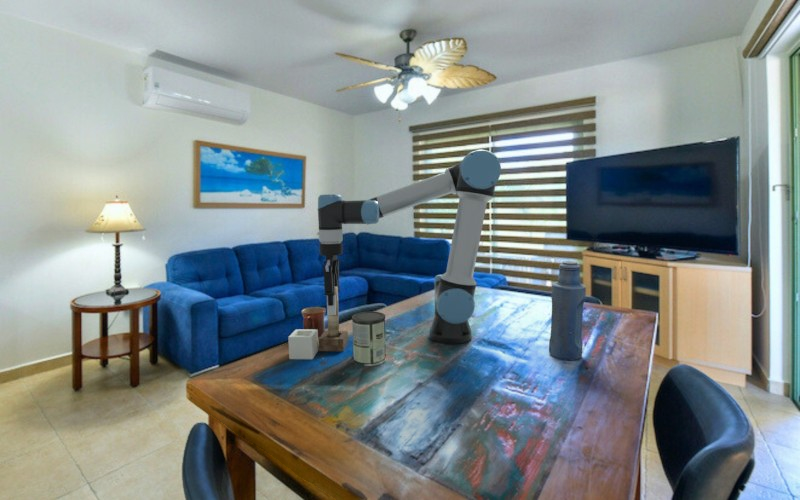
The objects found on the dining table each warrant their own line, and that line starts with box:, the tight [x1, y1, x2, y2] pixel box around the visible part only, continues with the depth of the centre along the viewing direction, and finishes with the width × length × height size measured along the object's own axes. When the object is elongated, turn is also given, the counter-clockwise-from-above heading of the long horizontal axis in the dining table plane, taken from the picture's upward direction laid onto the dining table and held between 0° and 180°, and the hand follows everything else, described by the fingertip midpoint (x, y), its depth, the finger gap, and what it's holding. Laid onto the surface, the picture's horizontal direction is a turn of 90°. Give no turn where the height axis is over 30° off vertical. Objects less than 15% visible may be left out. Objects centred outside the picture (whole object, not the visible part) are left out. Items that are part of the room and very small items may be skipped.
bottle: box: [548, 260, 587, 361], centre depth 118 cm, size 10×10×30 cm
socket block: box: [318, 330, 349, 352], centre depth 126 cm, size 8×8×5 cm
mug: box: [301, 306, 327, 338], centre depth 136 cm, size 12×9×10 cm
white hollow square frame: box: [287, 328, 319, 360], centre depth 119 cm, size 7×7×8 cm
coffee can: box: [351, 311, 387, 367], centre depth 117 cm, size 10×10×14 cm
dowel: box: [326, 286, 340, 337], centre depth 125 cm, size 4×4×18 cm
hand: (333, 312), depth 125 cm, fingers closed on dowel, 3 cm apart
